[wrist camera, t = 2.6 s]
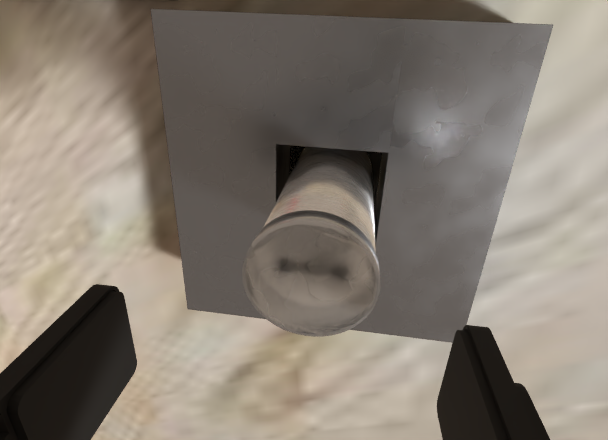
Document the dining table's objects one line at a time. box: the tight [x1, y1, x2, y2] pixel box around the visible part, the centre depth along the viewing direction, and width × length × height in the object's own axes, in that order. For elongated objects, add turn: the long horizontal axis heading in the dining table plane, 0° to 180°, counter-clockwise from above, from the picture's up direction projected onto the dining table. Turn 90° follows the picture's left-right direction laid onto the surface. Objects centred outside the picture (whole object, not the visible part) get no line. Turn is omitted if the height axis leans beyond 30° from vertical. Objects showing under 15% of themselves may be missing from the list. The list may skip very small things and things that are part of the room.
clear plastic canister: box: [242, 147, 380, 336], centre depth 18 cm, size 5×5×11 cm
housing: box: [151, 9, 553, 343], centre depth 21 cm, size 16×16×4 cm
